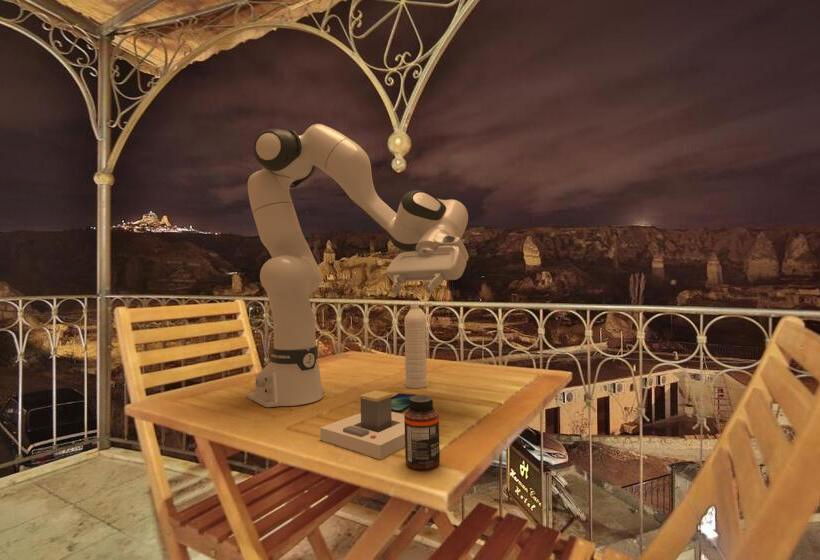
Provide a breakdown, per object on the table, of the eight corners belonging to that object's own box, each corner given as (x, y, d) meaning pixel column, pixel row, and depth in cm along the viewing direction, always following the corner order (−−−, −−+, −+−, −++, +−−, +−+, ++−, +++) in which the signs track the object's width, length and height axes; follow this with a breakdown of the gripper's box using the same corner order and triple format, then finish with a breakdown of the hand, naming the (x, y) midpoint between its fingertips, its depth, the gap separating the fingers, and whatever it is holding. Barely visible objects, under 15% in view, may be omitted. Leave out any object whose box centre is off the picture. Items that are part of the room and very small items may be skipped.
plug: (360, 434, 84) (359, 395, 84) (375, 428, 87) (374, 390, 88) (377, 439, 81) (376, 398, 81) (392, 432, 85) (391, 393, 85)
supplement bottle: (412, 454, 75) (411, 391, 75) (444, 459, 73) (442, 394, 73) (399, 468, 69) (398, 400, 69) (433, 473, 67) (432, 403, 67)
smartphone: (424, 395, 113) (401, 410, 99) (424, 398, 113) (401, 414, 99) (398, 393, 116) (373, 407, 102) (398, 396, 116) (373, 411, 102)
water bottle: (402, 388, 123) (401, 303, 123) (408, 382, 129) (407, 302, 129) (431, 389, 120) (430, 303, 121) (436, 384, 127) (434, 302, 127)
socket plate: (320, 440, 83) (320, 424, 83) (374, 418, 95) (374, 405, 95) (380, 459, 73) (380, 442, 73) (431, 432, 86) (431, 417, 86)
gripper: (396, 243, 107) (370, 281, 99) (465, 236, 94) (442, 279, 86) (407, 261, 110) (383, 299, 102) (475, 257, 98) (454, 300, 90)
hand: (411, 290), depth 94 cm, fingers open, 8 cm apart
